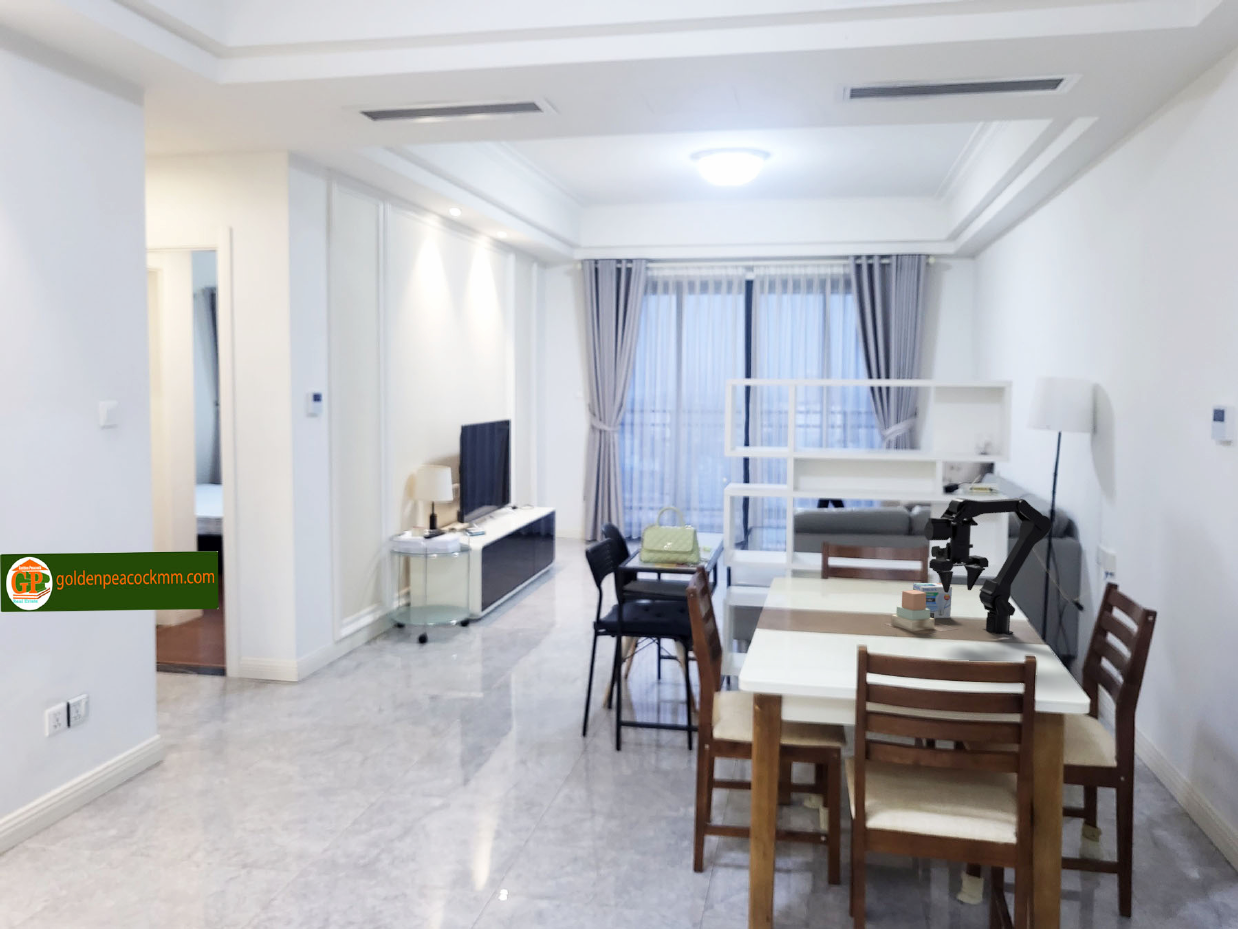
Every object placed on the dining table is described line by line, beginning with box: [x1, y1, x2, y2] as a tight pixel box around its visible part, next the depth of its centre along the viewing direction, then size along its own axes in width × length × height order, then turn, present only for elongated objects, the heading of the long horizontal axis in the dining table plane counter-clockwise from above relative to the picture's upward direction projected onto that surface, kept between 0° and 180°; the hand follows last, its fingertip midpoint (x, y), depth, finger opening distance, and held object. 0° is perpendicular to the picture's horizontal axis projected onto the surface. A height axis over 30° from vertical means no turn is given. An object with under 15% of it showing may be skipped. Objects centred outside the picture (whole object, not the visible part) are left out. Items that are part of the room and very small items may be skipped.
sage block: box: [895, 605, 930, 620], centre depth 298 cm, size 7×7×3 cm
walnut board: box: [885, 621, 958, 636], centre depth 298 cm, size 17×14×1 cm
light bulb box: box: [912, 582, 953, 619], centre depth 313 cm, size 11×7×11 cm, turn 99°
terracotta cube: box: [901, 589, 926, 610], centre depth 298 cm, size 5×5×5 cm
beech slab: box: [890, 614, 936, 631], centre depth 298 cm, size 9×9×3 cm
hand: (957, 591), depth 292 cm, fingers open, 9 cm apart
